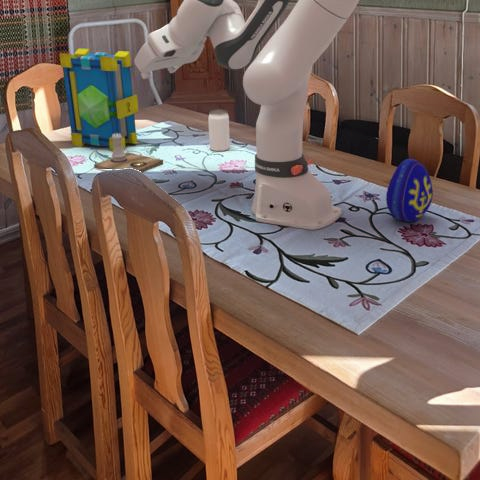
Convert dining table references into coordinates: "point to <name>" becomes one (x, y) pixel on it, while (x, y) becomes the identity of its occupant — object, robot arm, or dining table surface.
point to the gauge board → (130, 163)
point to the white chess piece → (118, 148)
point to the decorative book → (99, 97)
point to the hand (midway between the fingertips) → (157, 73)
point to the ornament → (409, 191)
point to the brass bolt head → (138, 163)
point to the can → (219, 130)
